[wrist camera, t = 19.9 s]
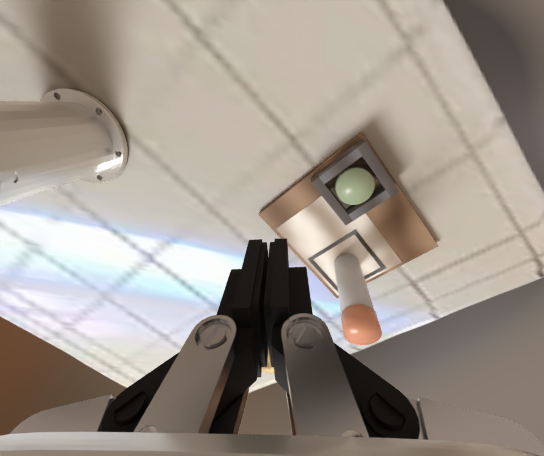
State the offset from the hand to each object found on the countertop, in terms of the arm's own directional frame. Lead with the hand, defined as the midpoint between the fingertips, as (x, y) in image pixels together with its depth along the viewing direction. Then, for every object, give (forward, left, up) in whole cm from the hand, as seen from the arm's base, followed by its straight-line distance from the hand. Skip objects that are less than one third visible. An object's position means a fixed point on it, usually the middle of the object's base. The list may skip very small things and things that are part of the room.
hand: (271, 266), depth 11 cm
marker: (-3, -19, -24) cm, 31 cm away
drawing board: (0, -14, -25) cm, 29 cm away
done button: (+5, -8, -24) cm, 26 cm away
